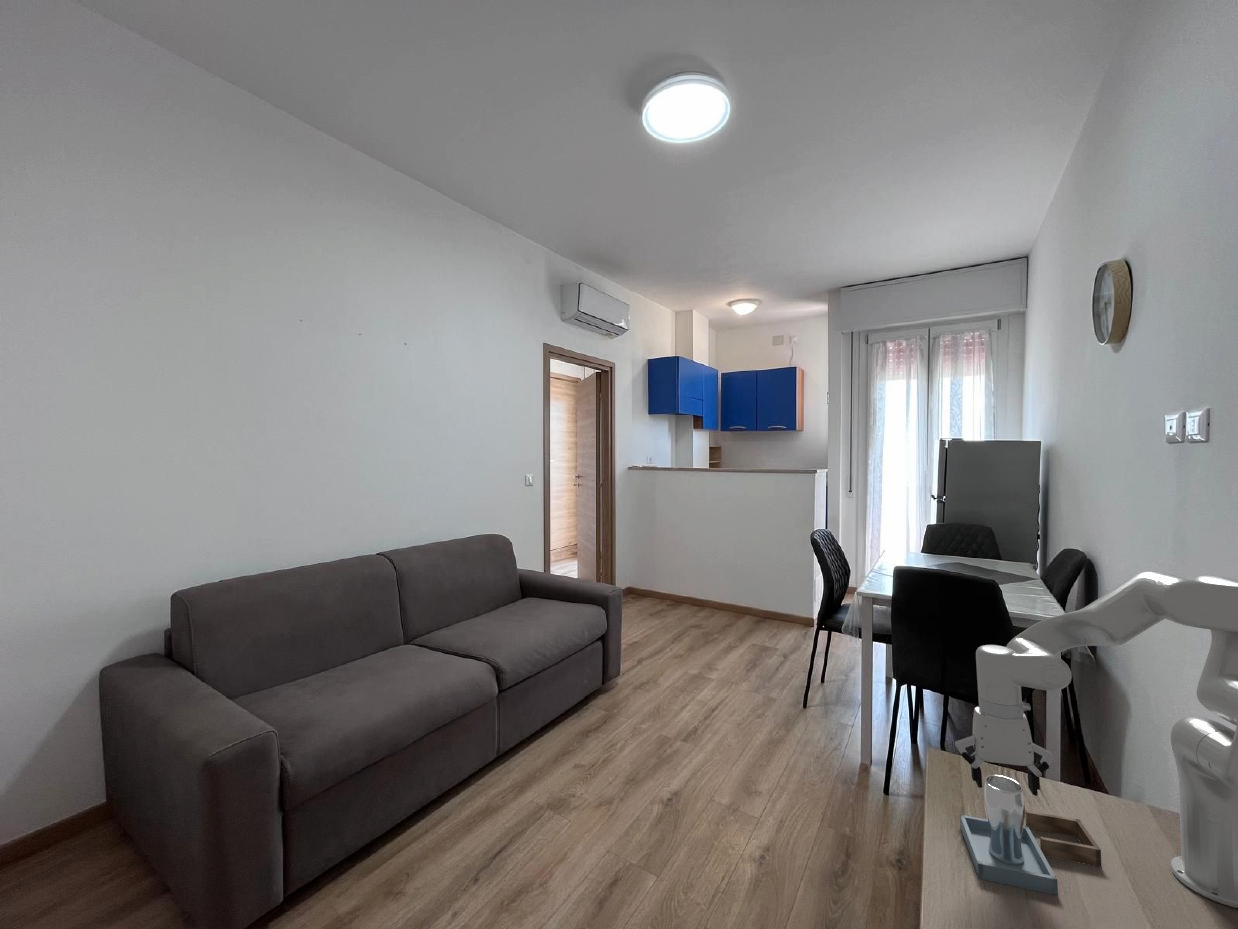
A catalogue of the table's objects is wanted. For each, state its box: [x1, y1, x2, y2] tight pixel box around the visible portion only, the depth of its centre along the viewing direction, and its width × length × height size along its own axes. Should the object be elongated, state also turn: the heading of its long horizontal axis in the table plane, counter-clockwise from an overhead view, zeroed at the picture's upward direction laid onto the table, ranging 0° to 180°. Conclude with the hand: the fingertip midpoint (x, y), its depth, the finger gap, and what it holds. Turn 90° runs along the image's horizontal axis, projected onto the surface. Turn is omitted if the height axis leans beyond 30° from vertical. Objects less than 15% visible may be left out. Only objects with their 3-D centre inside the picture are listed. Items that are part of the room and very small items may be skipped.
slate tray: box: [959, 814, 1059, 896], centre depth 113 cm, size 13×16×3 cm
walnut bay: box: [1025, 809, 1102, 867], centre depth 116 cm, size 10×10×4 cm
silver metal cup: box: [983, 774, 1026, 865], centre depth 113 cm, size 7×7×15 cm
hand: (1005, 788), depth 113 cm, fingers open, 9 cm apart
